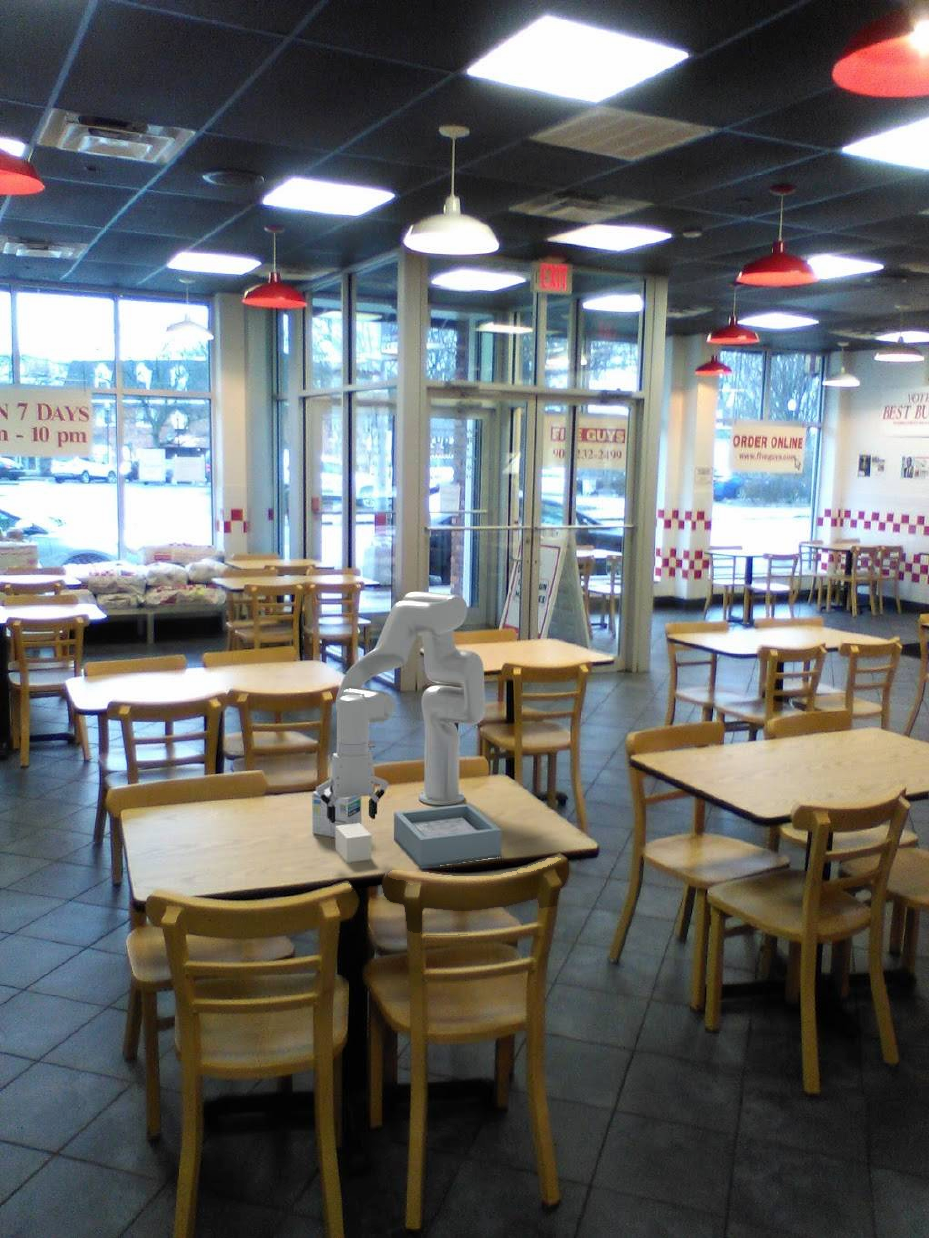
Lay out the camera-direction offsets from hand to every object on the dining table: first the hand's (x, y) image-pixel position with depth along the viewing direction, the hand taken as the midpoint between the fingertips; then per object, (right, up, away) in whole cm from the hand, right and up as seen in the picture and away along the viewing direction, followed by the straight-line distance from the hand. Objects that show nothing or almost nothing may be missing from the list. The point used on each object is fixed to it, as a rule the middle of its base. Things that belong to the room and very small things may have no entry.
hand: (352, 819), depth 252 cm
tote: (+22, -8, +6) cm, 24 cm away
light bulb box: (-5, -7, +16) cm, 18 cm away
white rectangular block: (0, -9, +2) cm, 9 cm away
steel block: (+22, -7, +6) cm, 24 cm away
